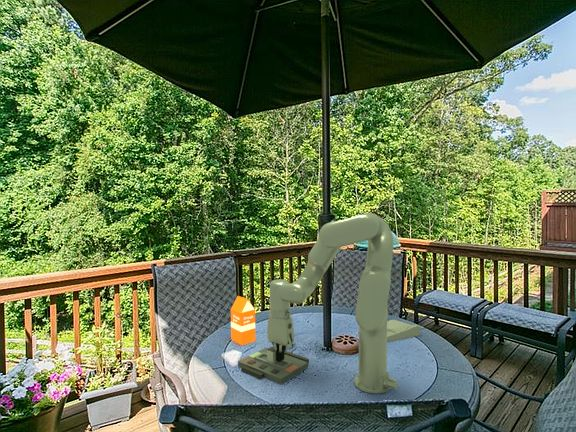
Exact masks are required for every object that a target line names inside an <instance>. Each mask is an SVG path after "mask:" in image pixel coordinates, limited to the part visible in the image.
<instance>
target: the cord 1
mask: <svg viewBox="0 0 576 432" xmlns="http://www.w3.org/2000/svg"><path fill="white" fill-rule="evenodd" d="M240 368H241V369H240V370H241V372H243V373H244V374H247V375H250V376H251V377H254V378H256V379H258V380H263V379H264V378H265V377H264V374H263V373H261V372H259V371H256V370H254V369H251V368H249V367H247V366H243V367H240Z"/></svg>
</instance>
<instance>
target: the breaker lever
mask: <svg viewBox="0 0 576 432" xmlns="http://www.w3.org/2000/svg"><path fill="white" fill-rule="evenodd" d="M267 348H268V349H267V361H270V362H272V363H275V362H277V361H276V350H274V346H273V345H272V346H270V347H267Z"/></svg>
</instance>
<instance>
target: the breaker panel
mask: <svg viewBox="0 0 576 432" xmlns="http://www.w3.org/2000/svg"><path fill="white" fill-rule="evenodd" d="M268 348H269V347H264V348H262V349H260V350H258V351H256V352H253V353H252V354H250V355H248V356H246V357H244V358H242V359H239V360H238V361H237V366H238V367H239V368H241V367H243V366H247V367H249V368H251V369H254V370H256V371H259V372H261V373H263V374H264V378H265V379H266V380H270V381H272V382H274V383H276V384H279V385H283V384H284V383H285V382H286V383H287V381H289V380H291V379H292V378H294V377H295V376H297V375H299V374H301V373H302V372H303V371H304V370H306V369H308V367H309V363H308V362H305V361H302V360H300V359H297V358H294V357H291V356H288V355H285V354H284V360H283V361H281V362H278V361H277V362H275V363H272V362H270V361H267V349H268Z"/></svg>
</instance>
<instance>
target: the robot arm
mask: <svg viewBox="0 0 576 432" xmlns="http://www.w3.org/2000/svg"><path fill="white" fill-rule="evenodd" d="M365 241H366V242H368V243H367V251H366V260H365V261H366V262H365V265H364V266H365V268H364V271H363V272H362V274H361V276H360V279H359V283H358V290H357V298H356V305H355V306H356V307H355V315H354V317H355V320H356V321H355V322H356V323H357V325H358V374H356V375H355V377H354V379H353V382H354V385H355V387H356V388H358V389H359V390H361V391H363V392H365V393H368V394H369V393H370V394H376V395H377V394H378V395H379V394H383V393H387V392H388V391H390V390H391V389H394V390H398V388H399V387H398V385H399V384H398V380H397V379H394V378H391V376H390V372H387V371H388V369H387V368H388V366H387V365H388V363H387V361H388V359H387V358H388V357H387V356H388V355H387V354H388V353H387V352H388V351H387V350H388V342H387V321H388V315H389V313H388V311H389V310H388V303H389V295H390V288H391V282H392V280H391V279H392V277H391V274H392V263H393V257H394V256H393V255H394V237H393V233H392V230H391V227H390V226H389V224H388V223H387V222H386V220H384V219H383V218H382V217H380V216H379V215H377V214H375V213H372V212H364V213H362V214H359V215H355V216H352V217H349V218H345V219H341V220H334V221H330V222H327V223H325V224H323V225H322V226H321V228H320V230H319V232H318V238H317V240H316V242H315V243H314V245H313V246H312V248H311V250H310V251H309V253H308V255H307V263H306V265H305V267H304V269H303V271H302V272H301V274H300V275H299V277H298V279H297V280H295V281H294V282H292V283H290V282H289V281H288V280H287V279H280V278H279V279H273V280H271V282H270V283H269V315H268V319H267V328H266V329H267V330H266V335H267V336H266V337H267V339H268V342H269V343H270V344H271V345H272V346H273V347H274V350H276V361H278V362H281V361H283V360H284V351H286V350H288V349H292V348H293V343H294V342H295V330H294V322H293V318H292V313H293V312H291V304H294V305H300V304H303V303H304V302H305V301H306V300H307V299H308V298H309V297H310V296H311V295H312V294H313V292H314V291H315V289H316V287H317V286H318V284H319V283H320V281H321V280H322V278H323V277H324V274H325V273H326V271H328V269H329V267H330V265H331V264H332V263H333V261H334V259H335V257H336V256H337V254H338V253H339V251H340V250H341V248H342V247H344V246H349V245H354V244H358V243H362V242H365ZM291 342H292V344H291Z"/></svg>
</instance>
